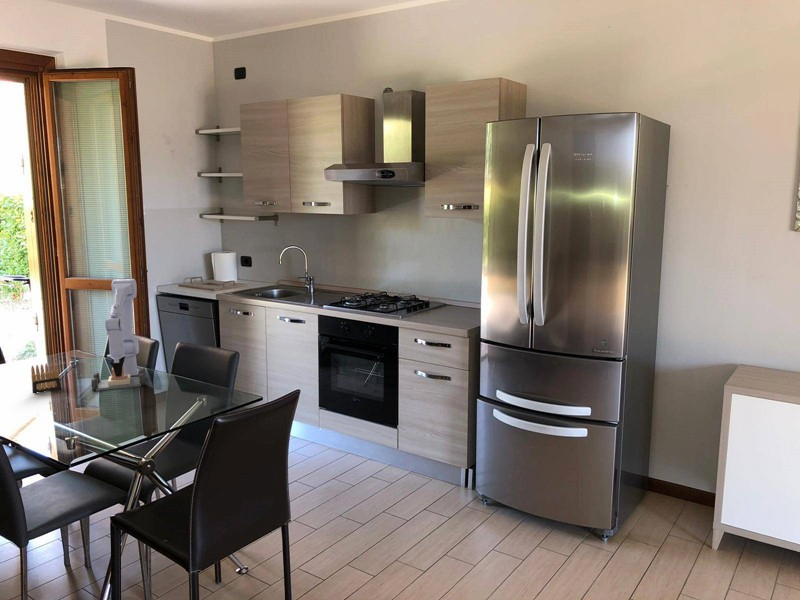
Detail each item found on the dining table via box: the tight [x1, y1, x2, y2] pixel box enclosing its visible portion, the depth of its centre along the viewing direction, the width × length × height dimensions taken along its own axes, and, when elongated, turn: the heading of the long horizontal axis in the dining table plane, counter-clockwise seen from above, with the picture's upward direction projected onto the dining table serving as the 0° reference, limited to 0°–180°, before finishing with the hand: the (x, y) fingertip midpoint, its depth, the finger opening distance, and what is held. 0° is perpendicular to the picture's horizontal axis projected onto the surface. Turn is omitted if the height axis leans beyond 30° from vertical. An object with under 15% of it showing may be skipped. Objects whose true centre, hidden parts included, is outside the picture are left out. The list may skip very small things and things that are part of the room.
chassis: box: [90, 367, 147, 392], centre depth 292 cm, size 14×21×5 cm, turn 109°
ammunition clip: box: [30, 361, 62, 394], centre depth 284 cm, size 11×2×12 cm, turn 127°
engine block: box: [111, 366, 124, 380], centre depth 291 cm, size 4×4×6 cm
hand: (119, 374), depth 291 cm, fingers closed on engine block, 4 cm apart
